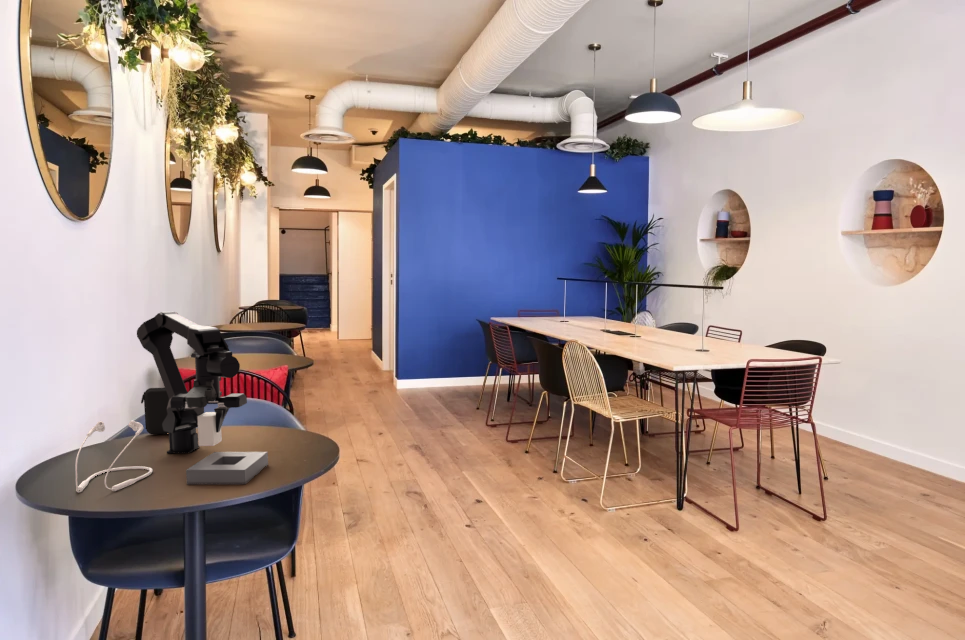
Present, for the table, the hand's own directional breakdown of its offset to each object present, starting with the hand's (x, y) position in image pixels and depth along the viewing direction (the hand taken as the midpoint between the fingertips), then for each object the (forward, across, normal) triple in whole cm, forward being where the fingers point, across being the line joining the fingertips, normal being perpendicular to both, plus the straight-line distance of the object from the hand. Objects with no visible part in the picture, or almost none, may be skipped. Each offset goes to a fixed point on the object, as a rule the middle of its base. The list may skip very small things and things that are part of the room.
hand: (210, 432), depth 171 cm
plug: (+3, 0, 0) cm, 3 cm away
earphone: (+7, -15, -19) cm, 25 cm away
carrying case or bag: (+7, -27, +25) cm, 38 cm away
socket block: (+7, +11, -14) cm, 19 cm away
